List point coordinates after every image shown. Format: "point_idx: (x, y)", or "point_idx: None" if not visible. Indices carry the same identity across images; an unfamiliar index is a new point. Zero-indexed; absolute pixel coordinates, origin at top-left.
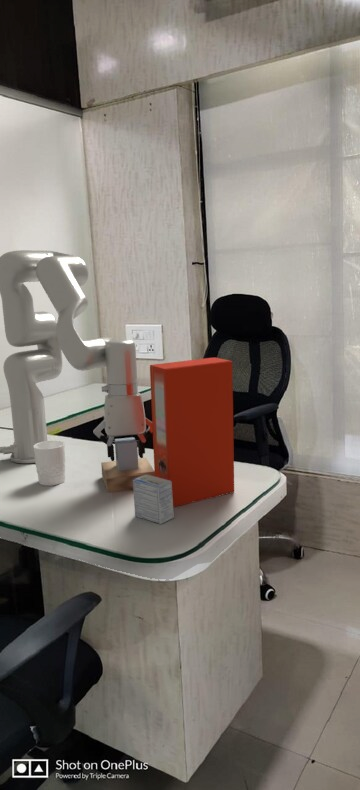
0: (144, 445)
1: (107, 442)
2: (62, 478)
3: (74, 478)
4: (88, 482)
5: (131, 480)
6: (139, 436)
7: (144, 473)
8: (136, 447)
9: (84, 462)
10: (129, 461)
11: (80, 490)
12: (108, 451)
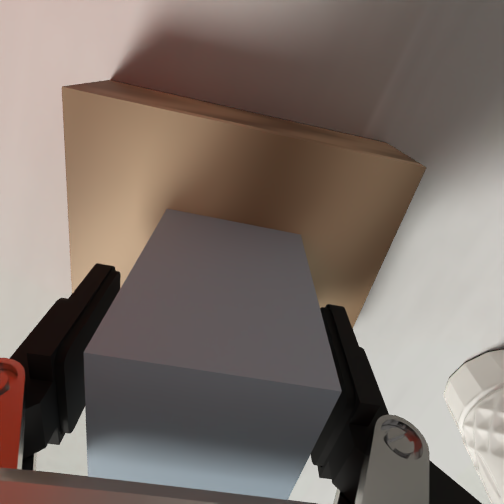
0: (23, 345)
1: (425, 458)
2: (484, 371)
3: (409, 376)
4: (388, 314)
5: (251, 120)
6: (7, 443)
7: (148, 105)
8: (120, 306)
9: (298, 480)
10: (221, 249)
11: (474, 242)
12: (372, 380)
